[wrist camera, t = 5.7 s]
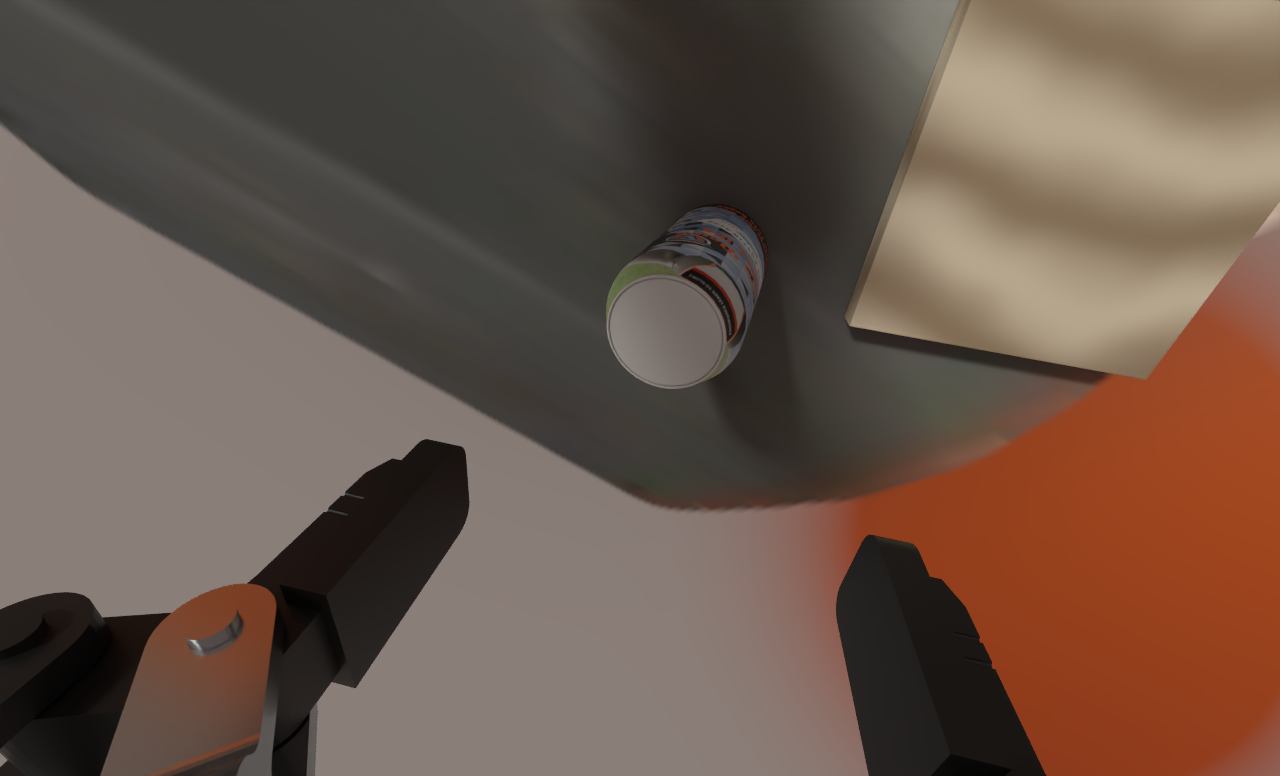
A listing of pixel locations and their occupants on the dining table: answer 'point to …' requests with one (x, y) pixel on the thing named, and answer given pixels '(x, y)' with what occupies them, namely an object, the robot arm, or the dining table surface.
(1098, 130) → the coaster board
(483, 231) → the dining table surface
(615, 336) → the beverage can
